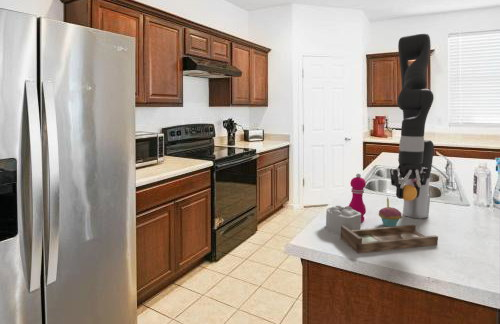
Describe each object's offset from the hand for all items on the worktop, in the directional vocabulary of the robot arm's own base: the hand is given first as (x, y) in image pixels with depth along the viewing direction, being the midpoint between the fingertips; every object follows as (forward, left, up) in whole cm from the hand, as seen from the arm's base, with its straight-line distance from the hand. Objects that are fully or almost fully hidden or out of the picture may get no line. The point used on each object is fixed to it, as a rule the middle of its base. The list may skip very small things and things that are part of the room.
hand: (407, 197), depth 114 cm
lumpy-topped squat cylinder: (+16, -15, -16) cm, 28 cm away
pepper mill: (+5, -23, -16) cm, 29 cm away
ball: (0, 0, +2) cm, 2 cm away
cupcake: (-5, -15, -16) cm, 23 cm away
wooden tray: (+6, 0, -16) cm, 17 cm away
